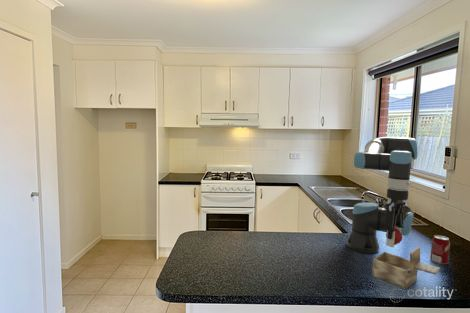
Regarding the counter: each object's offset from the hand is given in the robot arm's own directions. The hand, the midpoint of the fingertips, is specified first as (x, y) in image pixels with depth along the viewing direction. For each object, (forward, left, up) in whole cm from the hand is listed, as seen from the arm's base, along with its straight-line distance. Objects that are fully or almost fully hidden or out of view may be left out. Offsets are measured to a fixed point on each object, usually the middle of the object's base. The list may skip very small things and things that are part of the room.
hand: (392, 244), depth 114 cm
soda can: (+9, +33, -14) cm, 37 cm away
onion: (0, 0, 0) cm, 0 cm away
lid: (+8, 0, -3) cm, 9 cm away
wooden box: (+1, 0, -14) cm, 14 cm away
